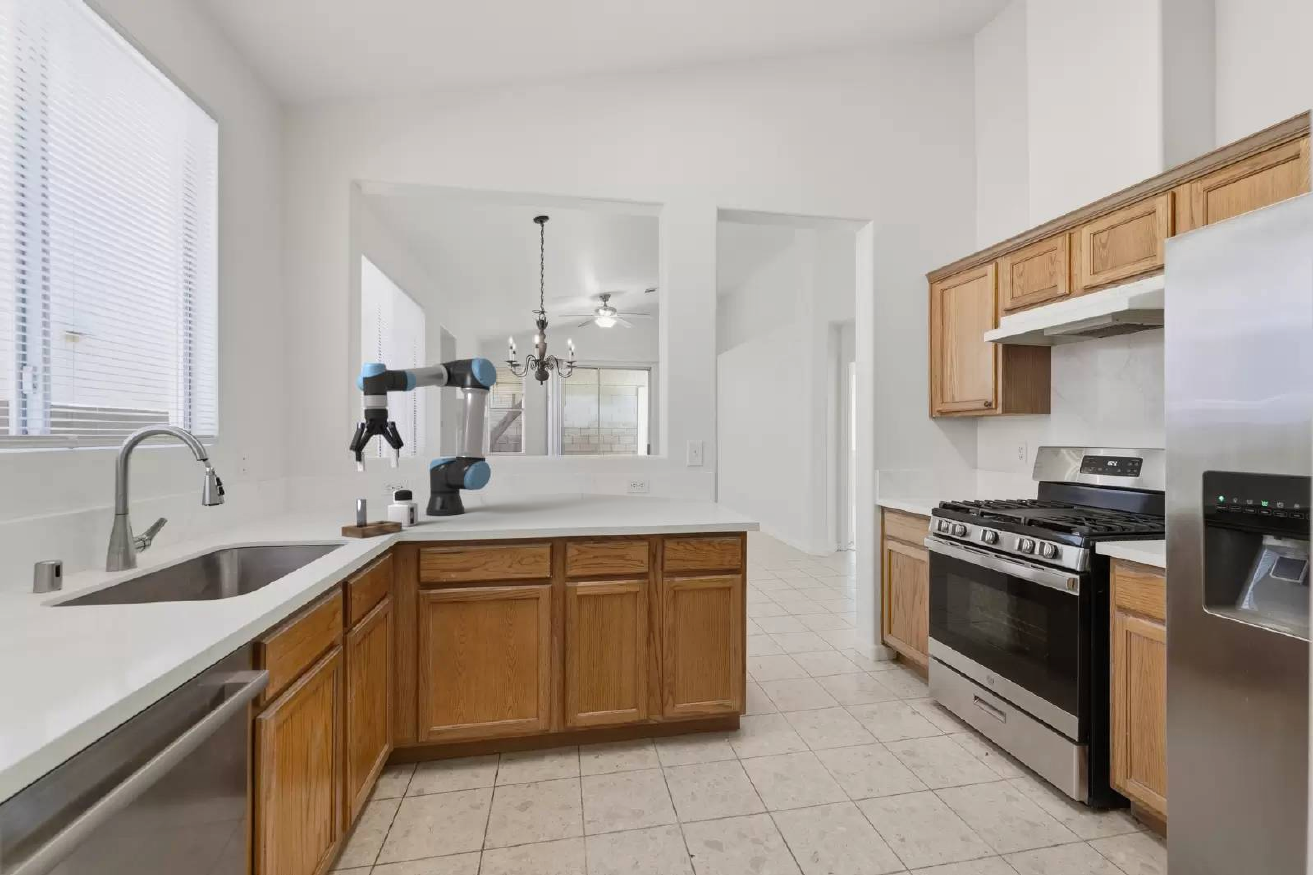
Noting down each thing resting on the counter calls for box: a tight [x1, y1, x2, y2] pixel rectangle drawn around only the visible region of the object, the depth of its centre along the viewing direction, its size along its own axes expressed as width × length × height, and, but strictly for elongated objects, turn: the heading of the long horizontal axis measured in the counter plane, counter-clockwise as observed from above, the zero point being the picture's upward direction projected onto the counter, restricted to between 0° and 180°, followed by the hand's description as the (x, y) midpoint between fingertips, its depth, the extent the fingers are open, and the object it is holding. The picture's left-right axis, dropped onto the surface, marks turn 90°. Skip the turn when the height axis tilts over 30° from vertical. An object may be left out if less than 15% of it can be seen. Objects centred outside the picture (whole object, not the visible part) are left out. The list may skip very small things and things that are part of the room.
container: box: [387, 489, 419, 528], centre depth 231 cm, size 8×8×13 cm
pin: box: [356, 498, 368, 528], centre depth 210 cm, size 3×3×12 cm
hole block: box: [341, 520, 403, 539], centre depth 214 cm, size 16×10×3 cm, turn 152°
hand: (378, 469), depth 217 cm, fingers open, 13 cm apart
